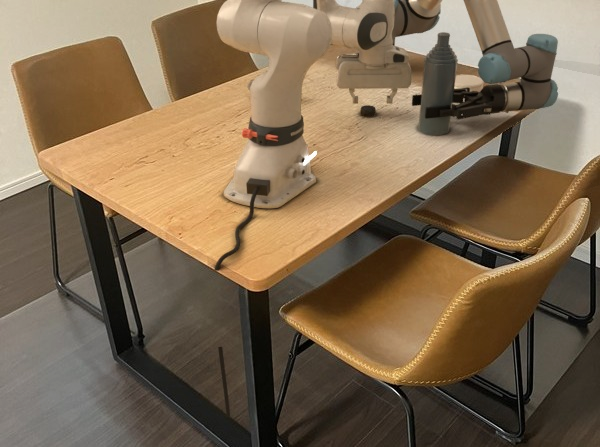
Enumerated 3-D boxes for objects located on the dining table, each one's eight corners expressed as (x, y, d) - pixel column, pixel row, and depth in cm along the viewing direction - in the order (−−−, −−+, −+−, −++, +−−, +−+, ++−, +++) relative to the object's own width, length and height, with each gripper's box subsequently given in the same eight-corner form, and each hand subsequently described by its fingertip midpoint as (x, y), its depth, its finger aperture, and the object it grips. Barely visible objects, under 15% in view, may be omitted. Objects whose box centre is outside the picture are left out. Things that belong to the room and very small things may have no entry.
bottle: (416, 123, 168) (424, 29, 155) (446, 122, 168) (457, 29, 155) (420, 135, 161) (429, 38, 148) (451, 135, 161) (464, 38, 148)
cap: (359, 116, 173) (359, 110, 172) (361, 111, 176) (361, 104, 175) (374, 117, 172) (374, 111, 171) (376, 112, 175) (376, 105, 174)
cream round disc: (444, 85, 192) (445, 74, 190) (475, 84, 193) (477, 73, 191) (454, 97, 183) (456, 86, 181) (487, 95, 184) (489, 84, 182)
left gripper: (336, 57, 162) (335, 107, 169) (415, 56, 162) (410, 106, 169) (335, 50, 167) (334, 99, 174) (411, 49, 167) (406, 98, 174)
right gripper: (517, 126, 158) (433, 136, 154) (479, 97, 175) (403, 105, 171) (522, 98, 154) (437, 107, 150) (483, 72, 171) (405, 79, 167)
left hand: (372, 103), depth 172 cm, fingers open, 8 cm apart
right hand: (419, 106), depth 160 cm, fingers closed on bottle, 8 cm apart
